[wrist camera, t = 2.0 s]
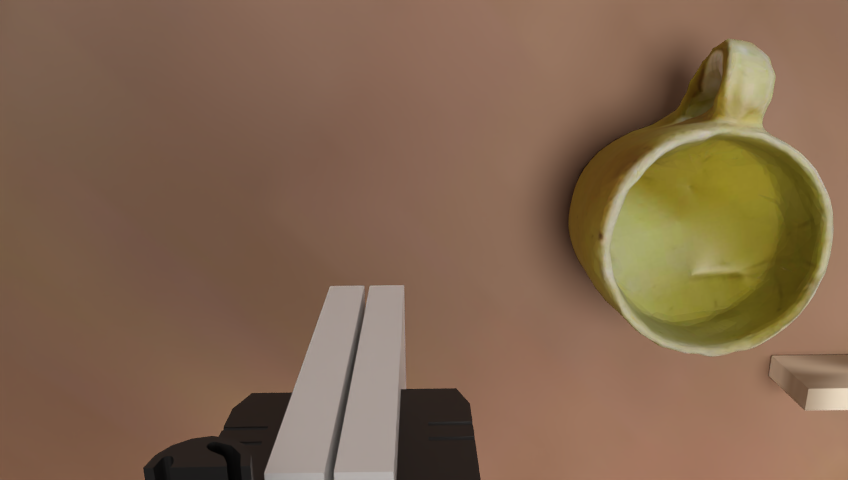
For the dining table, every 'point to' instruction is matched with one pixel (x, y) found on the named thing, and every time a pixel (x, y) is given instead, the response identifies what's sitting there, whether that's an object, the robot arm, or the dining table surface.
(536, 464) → the dining table surface
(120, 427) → the dining table surface
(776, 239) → the mug
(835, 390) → the cradle
